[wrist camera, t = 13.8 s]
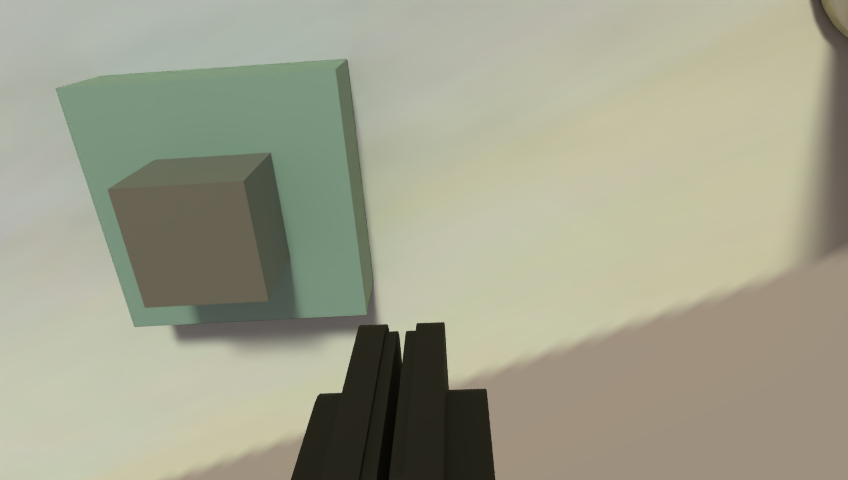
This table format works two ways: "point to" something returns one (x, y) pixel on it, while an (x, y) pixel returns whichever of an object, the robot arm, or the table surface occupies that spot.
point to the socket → (231, 135)
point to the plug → (203, 229)
